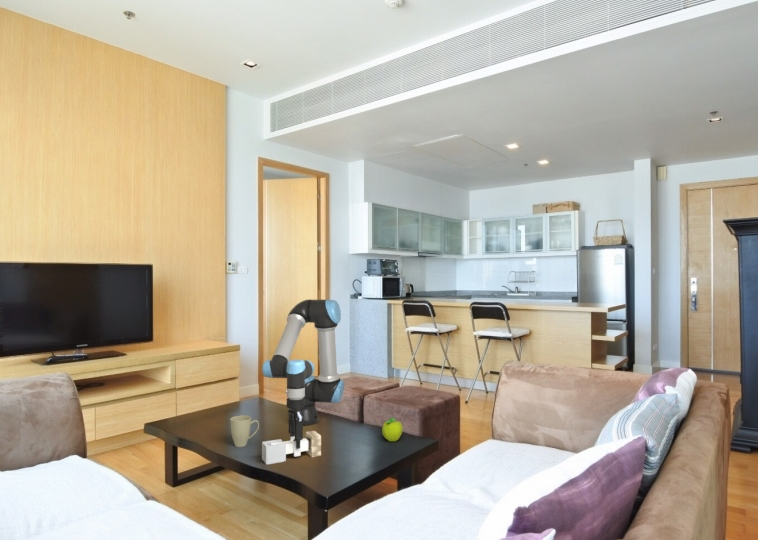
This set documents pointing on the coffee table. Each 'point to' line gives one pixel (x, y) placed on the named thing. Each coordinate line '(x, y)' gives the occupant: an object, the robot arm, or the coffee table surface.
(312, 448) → the beige block
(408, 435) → the coffee table surface
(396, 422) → the fruit
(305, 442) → the blue-banded white bar
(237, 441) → the mug
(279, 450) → the sleeve
